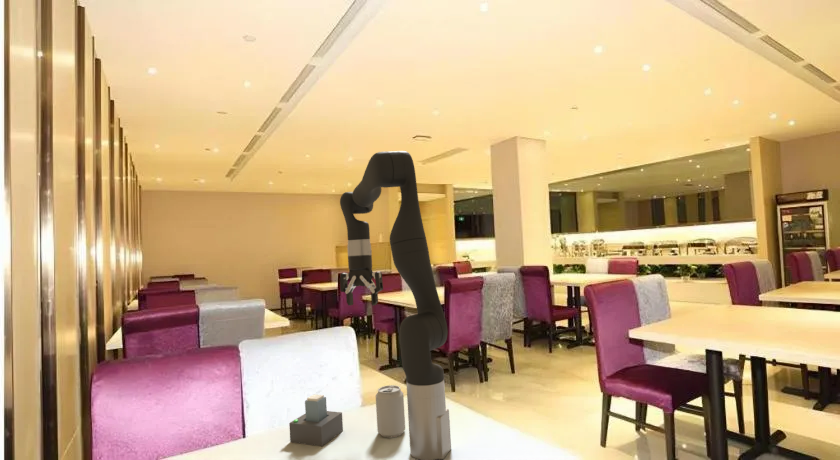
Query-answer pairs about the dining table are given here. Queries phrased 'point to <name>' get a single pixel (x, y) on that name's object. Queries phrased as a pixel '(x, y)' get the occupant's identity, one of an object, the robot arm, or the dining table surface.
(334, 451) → the dining table surface
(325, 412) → the plug
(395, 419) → the can
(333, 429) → the port block
